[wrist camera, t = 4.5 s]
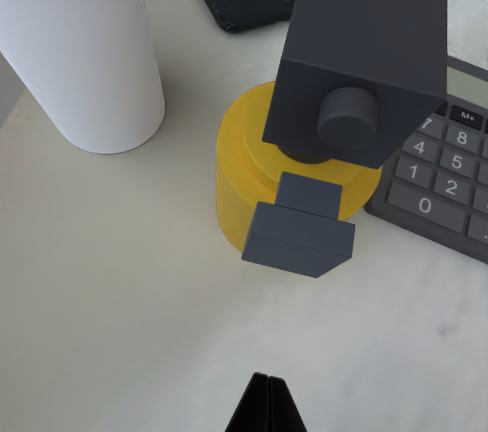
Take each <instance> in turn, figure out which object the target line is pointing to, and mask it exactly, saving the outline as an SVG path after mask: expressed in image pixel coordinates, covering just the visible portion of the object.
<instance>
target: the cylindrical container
mask: <svg viewBox="0 0 488 432" xmlns="http://www.w3.org/2000/svg"><path fill="white" fill-rule="evenodd" d="M0 51H1V53H2V54H3V55H4V57H5V58H6V59H7V61H8V62H9V63H10V65H11V66H12V67H13V69H14V70H15V72H16V73H17V74H18V76H19V77H20V78H21V80H22V81H23V82H24V84H25V85H26V86H27V88H28V89H29V90H30V92H31V93H32V94H33V96H34V97H35V98H36V100H37V101H38V102H39V104H40V105H41V106H42V108H43V109H44V111H45V112H46V113H47V115H48V116H49V117H50V119H51V120H52V121H53V123H54V124H55V125H56V127H57V128H58V129H59V131H60V132H61V133H62V135H63V136H64V137H65V138H66V139H67V140H68V141H69V142H71V143H72V144H73V145H75V146H76V147H78V148H81V149H83V150H86V151H89V152H94V153H98V154H113V153H120V152H124V151H128V150H131V149H133V148H135V147H137V146H139V145H141V144H143V143H144V142H146V141H147V140H148V139H150V138H151V137H152V136H153V135H154V134H155V132H156V131H157V130H158V128H159V127H160V125H161V123H162V121H163V118H164V115H165V100H164V95H163V90H162V85H161V80H160V76H159V71H158V66H157V61H156V56H155V52H154V47H153V42H152V37H151V32H150V28H149V23H148V18H147V13H146V8H145V4H144V0H0Z"/></svg>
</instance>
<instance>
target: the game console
mask: <svg viewBox="0 0 488 432" xmlns="http://www.w3.org/2000/svg"><path fill="white" fill-rule="evenodd" d="M205 2H206V4H207V6H208V7H209V9H210V11H211V13H212V15H213V17H214V18H215V20H216V22H217V24H218V25H219V26H220V27H221V28H222V29H223V30H225V31H227V32H232V33H238V32H242V31H246V30H250V29H253V28H257V27H261V26H265V25H269V24H274V23H276V22H277V21H278V19H281V20H282V21H286V20H289V19H291V16H292V12H293V8H294V4H295V0H205Z"/></svg>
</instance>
